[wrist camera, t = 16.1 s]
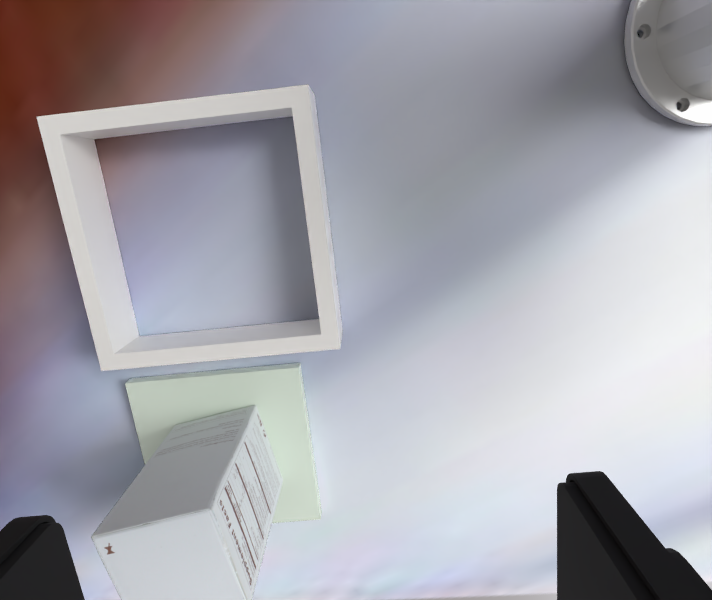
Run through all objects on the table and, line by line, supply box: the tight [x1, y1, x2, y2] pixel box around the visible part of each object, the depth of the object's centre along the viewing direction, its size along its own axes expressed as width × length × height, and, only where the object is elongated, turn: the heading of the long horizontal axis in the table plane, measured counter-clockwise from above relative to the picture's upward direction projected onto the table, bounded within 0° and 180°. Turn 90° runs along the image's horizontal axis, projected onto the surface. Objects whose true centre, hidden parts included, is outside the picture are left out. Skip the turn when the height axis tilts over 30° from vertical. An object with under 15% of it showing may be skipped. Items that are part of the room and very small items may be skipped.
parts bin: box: [37, 85, 343, 371], centre depth 34 cm, size 17×17×4 cm
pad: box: [125, 363, 322, 523], centre depth 40 cm, size 14×14×1 cm
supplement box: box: [91, 405, 283, 600], centre depth 33 cm, size 7×7×13 cm
